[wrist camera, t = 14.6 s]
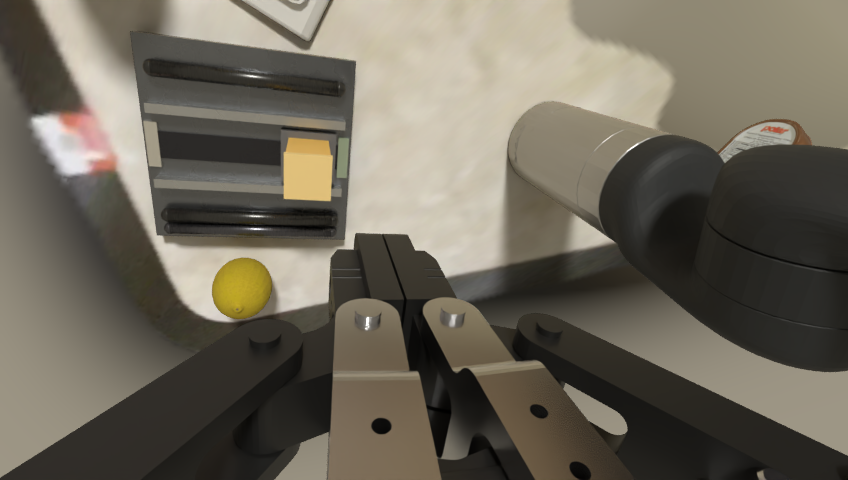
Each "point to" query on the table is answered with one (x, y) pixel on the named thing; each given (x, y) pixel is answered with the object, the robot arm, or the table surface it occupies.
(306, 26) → the light switch
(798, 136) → the tin
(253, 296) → the lemon
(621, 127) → the robot arm
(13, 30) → the table surface
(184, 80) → the panel
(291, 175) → the lever
